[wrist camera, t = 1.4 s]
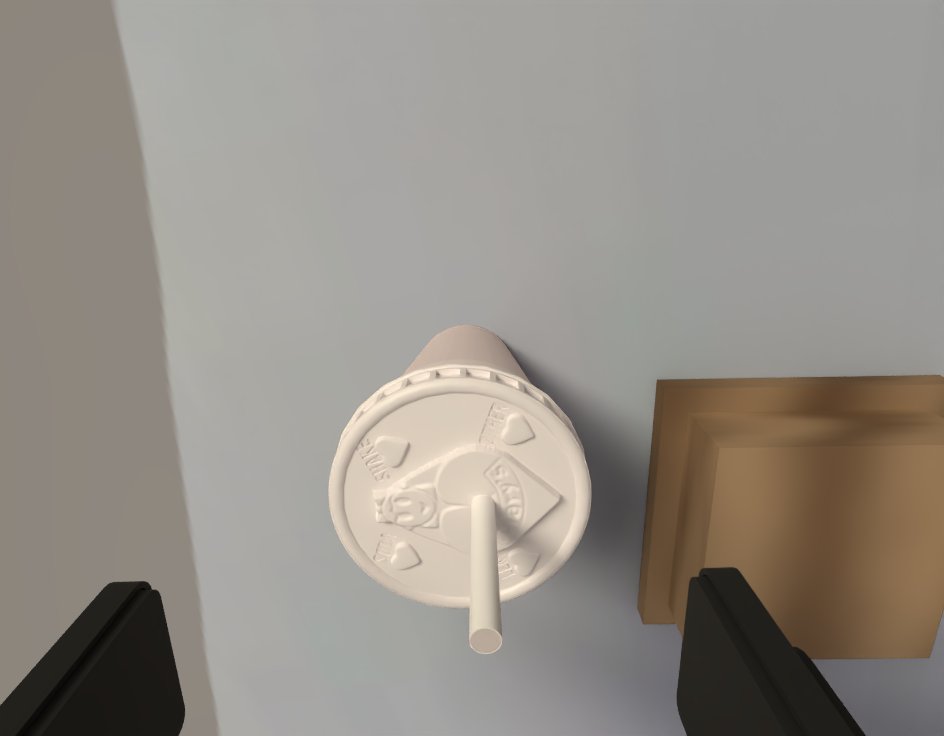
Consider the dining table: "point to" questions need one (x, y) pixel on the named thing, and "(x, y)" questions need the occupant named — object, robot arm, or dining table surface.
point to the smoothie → (461, 482)
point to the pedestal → (803, 506)
